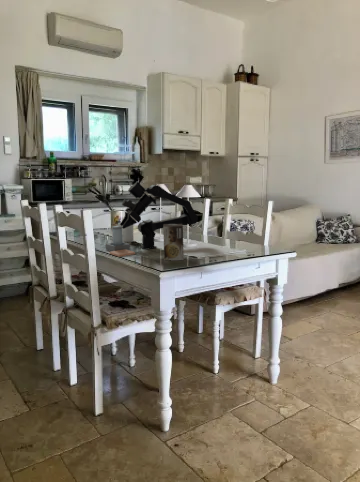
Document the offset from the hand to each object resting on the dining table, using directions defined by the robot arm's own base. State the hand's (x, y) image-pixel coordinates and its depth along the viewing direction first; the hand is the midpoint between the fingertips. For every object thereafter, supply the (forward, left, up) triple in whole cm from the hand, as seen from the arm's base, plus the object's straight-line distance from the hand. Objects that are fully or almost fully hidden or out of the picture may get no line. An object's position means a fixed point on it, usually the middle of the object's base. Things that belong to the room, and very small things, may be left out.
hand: (121, 226), depth 211 cm
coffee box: (-35, -7, -12) cm, 37 cm away
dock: (-5, +4, -12) cm, 13 cm away
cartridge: (0, +2, -12) cm, 12 cm away
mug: (+17, -13, -12) cm, 25 cm away
